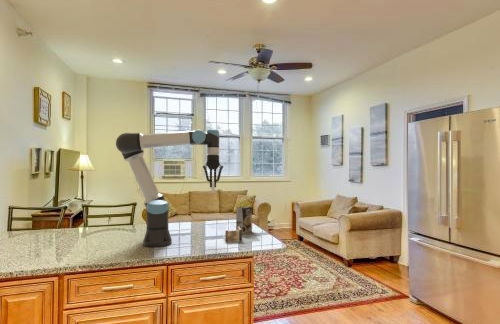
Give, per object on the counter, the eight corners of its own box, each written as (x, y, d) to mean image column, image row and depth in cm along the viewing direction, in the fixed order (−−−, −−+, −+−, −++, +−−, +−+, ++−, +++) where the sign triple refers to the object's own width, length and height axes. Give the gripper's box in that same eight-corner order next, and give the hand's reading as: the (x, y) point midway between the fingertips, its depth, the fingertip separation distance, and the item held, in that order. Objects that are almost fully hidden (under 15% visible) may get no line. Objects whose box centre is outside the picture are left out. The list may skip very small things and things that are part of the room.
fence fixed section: (225, 241, 178) (225, 230, 178) (225, 241, 180) (225, 230, 180) (242, 240, 180) (242, 229, 181) (241, 240, 182) (241, 229, 182)
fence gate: (241, 239, 182) (241, 229, 182) (239, 239, 182) (239, 229, 182) (239, 235, 192) (239, 226, 192) (237, 235, 192) (237, 226, 192)
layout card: (225, 243, 176) (225, 242, 176) (221, 236, 192) (221, 235, 192) (260, 241, 180) (260, 240, 180) (253, 235, 196) (253, 234, 196)
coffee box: (243, 233, 200) (243, 208, 201) (235, 232, 204) (235, 207, 204) (252, 231, 208) (252, 206, 208) (244, 230, 212) (244, 205, 212)
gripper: (222, 154, 201) (222, 191, 201) (202, 154, 198) (201, 192, 198) (224, 154, 194) (224, 193, 193) (202, 154, 191) (202, 193, 191)
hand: (212, 192), depth 196 cm, fingers closed
